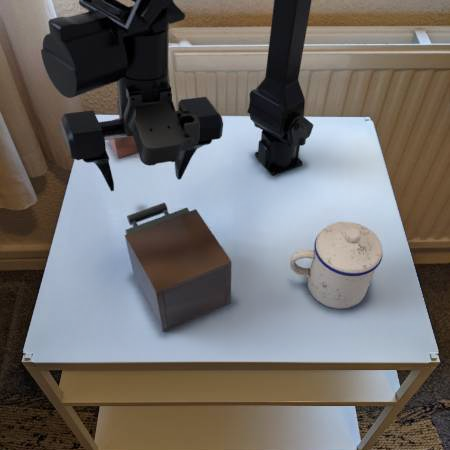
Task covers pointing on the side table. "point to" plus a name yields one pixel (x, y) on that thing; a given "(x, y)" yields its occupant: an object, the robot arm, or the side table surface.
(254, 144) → the side table surface
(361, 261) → the teacup with lid
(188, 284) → the cabinet
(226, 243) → the side table surface
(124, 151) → the block
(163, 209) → the drawer
